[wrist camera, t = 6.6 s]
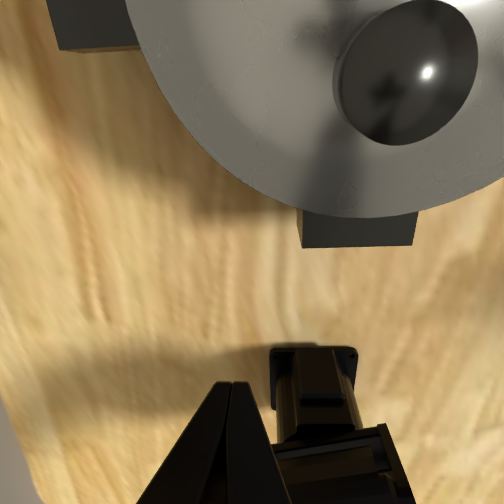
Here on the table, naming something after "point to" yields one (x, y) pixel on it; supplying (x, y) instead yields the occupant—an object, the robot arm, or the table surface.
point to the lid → (337, 95)
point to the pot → (124, 39)
